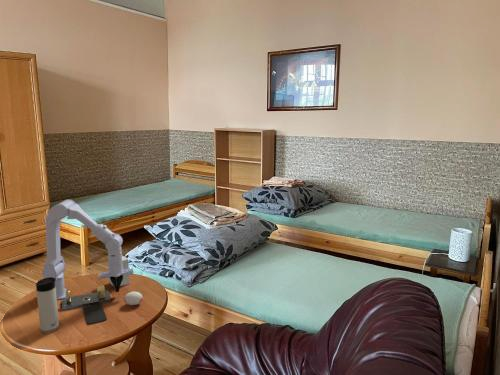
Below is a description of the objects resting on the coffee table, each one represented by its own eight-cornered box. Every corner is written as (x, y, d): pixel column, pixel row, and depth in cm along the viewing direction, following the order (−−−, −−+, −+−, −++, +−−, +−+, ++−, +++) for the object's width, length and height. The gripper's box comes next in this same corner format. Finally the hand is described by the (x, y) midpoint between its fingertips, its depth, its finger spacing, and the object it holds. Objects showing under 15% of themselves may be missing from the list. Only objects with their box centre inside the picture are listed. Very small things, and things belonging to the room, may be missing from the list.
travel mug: (58, 331, 142) (53, 282, 138) (38, 334, 140) (33, 284, 136) (61, 323, 148) (57, 275, 144) (42, 325, 146) (37, 277, 142)
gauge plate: (62, 301, 165) (61, 287, 164) (108, 292, 173) (108, 279, 172) (62, 310, 157) (61, 296, 156) (111, 301, 165) (110, 287, 164)
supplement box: (123, 278, 188) (122, 254, 185) (130, 283, 182) (128, 259, 180) (108, 283, 183) (107, 258, 180) (115, 288, 177) (113, 263, 175)
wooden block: (97, 293, 168) (96, 286, 168) (104, 292, 170) (104, 285, 169) (98, 298, 164) (97, 291, 163) (105, 297, 165) (105, 290, 165)
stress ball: (142, 308, 166) (143, 292, 169) (142, 306, 159) (142, 290, 162) (124, 309, 164) (125, 293, 167) (123, 307, 157) (123, 291, 160)
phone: (100, 303, 163) (107, 319, 150) (100, 304, 163) (107, 321, 150) (82, 307, 159) (87, 324, 147) (82, 309, 159) (87, 326, 147)
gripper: (98, 268, 160) (100, 298, 163) (134, 263, 166) (135, 291, 169) (97, 262, 166) (99, 291, 169) (131, 257, 173) (132, 285, 175)
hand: (117, 291), depth 169 cm, fingers closed
